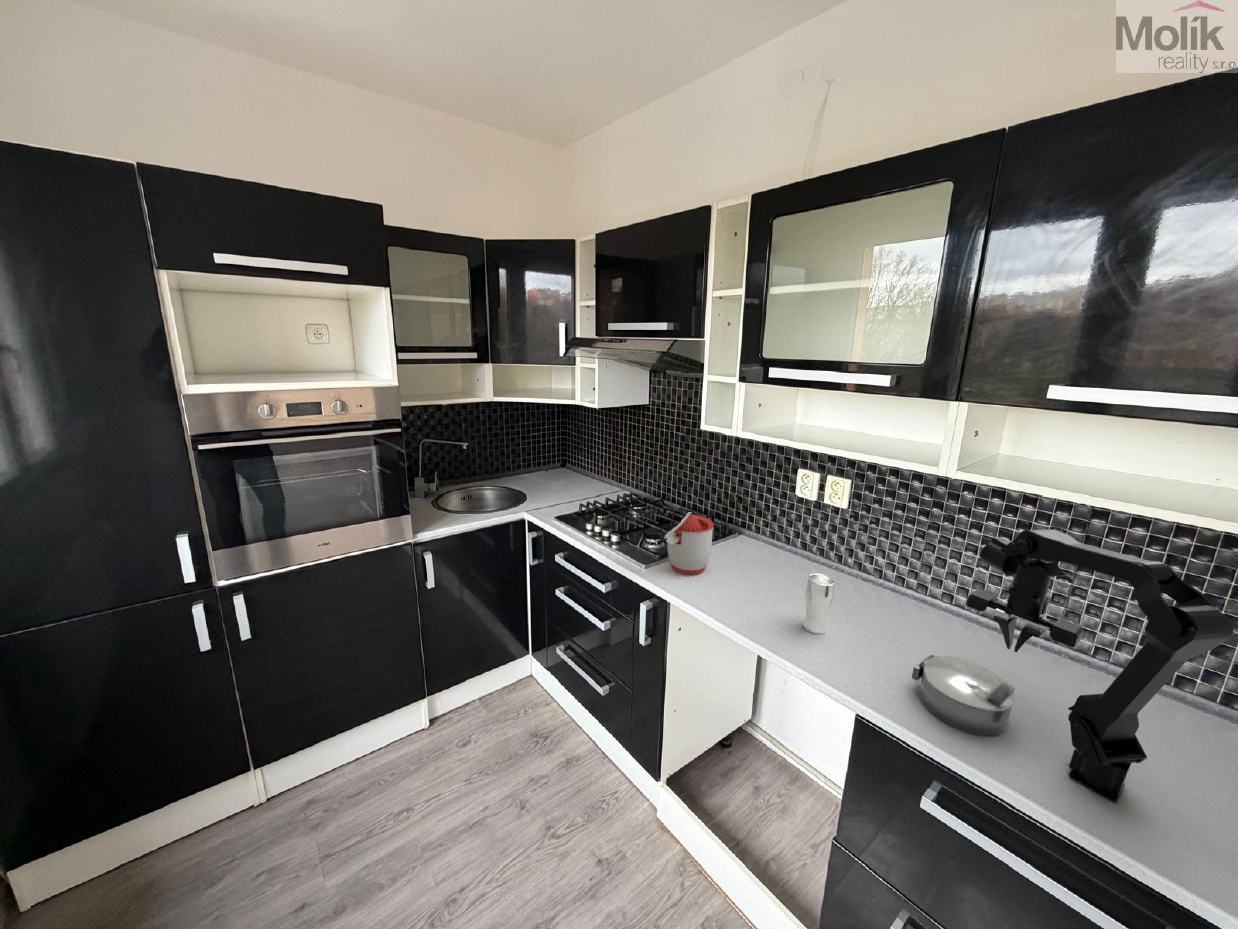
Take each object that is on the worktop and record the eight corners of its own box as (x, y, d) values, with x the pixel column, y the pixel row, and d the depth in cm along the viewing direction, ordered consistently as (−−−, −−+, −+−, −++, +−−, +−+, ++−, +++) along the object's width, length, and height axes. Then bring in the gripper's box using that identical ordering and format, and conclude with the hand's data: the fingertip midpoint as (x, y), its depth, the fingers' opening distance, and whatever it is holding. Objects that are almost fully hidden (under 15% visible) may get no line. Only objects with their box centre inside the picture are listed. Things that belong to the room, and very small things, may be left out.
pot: (1018, 714, 104) (1024, 691, 103) (989, 749, 95) (996, 724, 94) (931, 670, 118) (936, 649, 116) (899, 697, 109) (904, 674, 107)
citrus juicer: (652, 566, 168) (654, 513, 163) (687, 554, 178) (690, 503, 173) (684, 585, 156) (687, 527, 151) (720, 570, 166) (724, 516, 161)
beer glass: (832, 635, 131) (839, 585, 127) (807, 635, 131) (813, 585, 127) (821, 620, 138) (828, 573, 134) (797, 620, 138) (803, 572, 134)
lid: (1024, 690, 102) (1027, 682, 102) (996, 723, 94) (998, 715, 93) (939, 650, 115) (941, 642, 115) (907, 675, 107) (909, 667, 106)
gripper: (1100, 594, 98) (1079, 659, 102) (991, 559, 113) (977, 618, 117) (1084, 611, 92) (1063, 680, 96) (972, 572, 107) (958, 633, 111)
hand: (1012, 650), depth 105 cm, fingers closed
